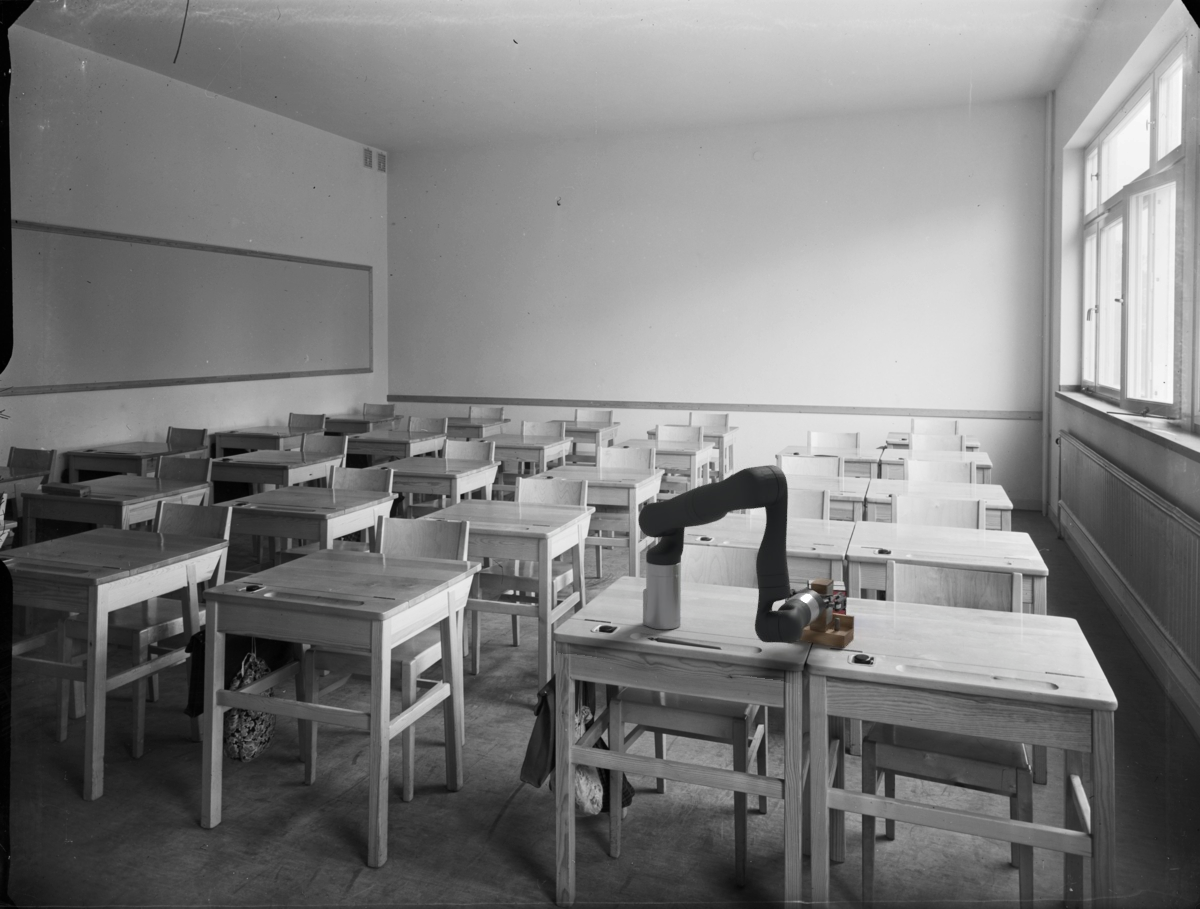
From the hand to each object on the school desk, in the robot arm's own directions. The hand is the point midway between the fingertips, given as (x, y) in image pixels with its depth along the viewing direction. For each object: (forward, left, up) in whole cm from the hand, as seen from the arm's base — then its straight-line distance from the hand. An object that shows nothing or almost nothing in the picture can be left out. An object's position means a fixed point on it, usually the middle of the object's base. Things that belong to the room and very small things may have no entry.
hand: (824, 593), depth 233 cm
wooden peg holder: (0, -1, -12) cm, 12 cm away
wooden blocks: (0, -2, -8) cm, 9 cm away
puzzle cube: (-4, +15, -12) cm, 19 cm away
